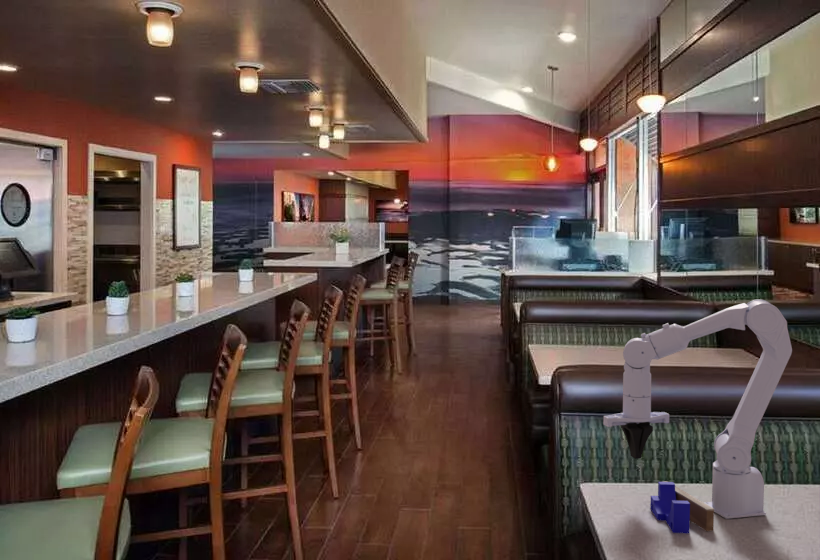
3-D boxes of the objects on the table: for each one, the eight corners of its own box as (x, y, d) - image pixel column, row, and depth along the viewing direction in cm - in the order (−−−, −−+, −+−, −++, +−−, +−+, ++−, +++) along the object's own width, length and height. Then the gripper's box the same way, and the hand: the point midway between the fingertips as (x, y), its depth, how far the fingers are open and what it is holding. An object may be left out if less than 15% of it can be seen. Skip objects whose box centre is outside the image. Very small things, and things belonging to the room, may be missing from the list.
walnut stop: (666, 500, 154) (667, 481, 154) (713, 530, 139) (714, 508, 138) (660, 501, 154) (660, 481, 154) (706, 531, 138) (706, 509, 138)
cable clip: (650, 509, 150) (650, 481, 150) (672, 510, 150) (673, 482, 149) (665, 533, 138) (665, 502, 138) (689, 534, 138) (690, 503, 137)
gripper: (657, 389, 159) (656, 449, 160) (596, 392, 156) (596, 453, 157) (675, 396, 152) (674, 458, 153) (613, 399, 149) (612, 464, 150)
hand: (635, 457), depth 154 cm, fingers closed
